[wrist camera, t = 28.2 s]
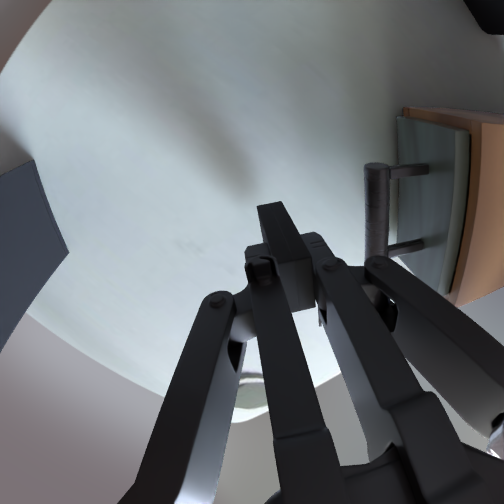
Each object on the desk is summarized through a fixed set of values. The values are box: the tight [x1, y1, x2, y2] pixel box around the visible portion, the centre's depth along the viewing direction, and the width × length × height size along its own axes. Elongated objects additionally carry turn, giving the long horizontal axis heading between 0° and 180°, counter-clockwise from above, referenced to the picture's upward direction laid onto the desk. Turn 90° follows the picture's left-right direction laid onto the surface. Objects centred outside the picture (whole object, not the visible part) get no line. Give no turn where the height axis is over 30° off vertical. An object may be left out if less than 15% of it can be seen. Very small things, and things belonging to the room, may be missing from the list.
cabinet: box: [403, 107, 504, 308], centre depth 15 cm, size 16×12×8 cm
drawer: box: [364, 116, 472, 296], centre depth 15 cm, size 19×10×6 cm, turn 100°
